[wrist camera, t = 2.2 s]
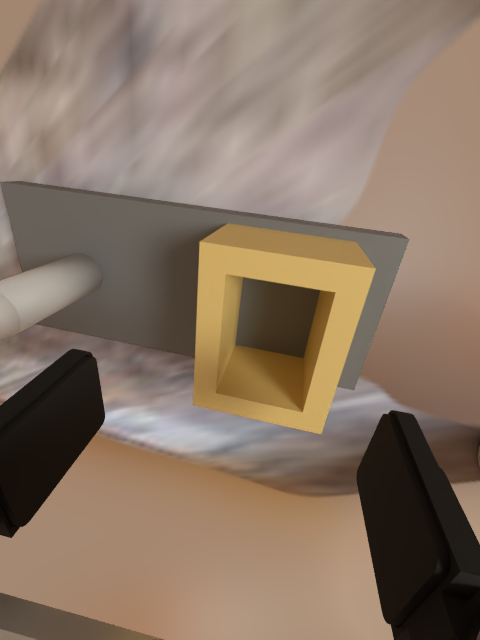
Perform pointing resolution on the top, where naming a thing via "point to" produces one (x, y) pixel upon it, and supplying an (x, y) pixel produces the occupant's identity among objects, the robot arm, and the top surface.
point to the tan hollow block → (264, 366)
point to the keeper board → (162, 273)
